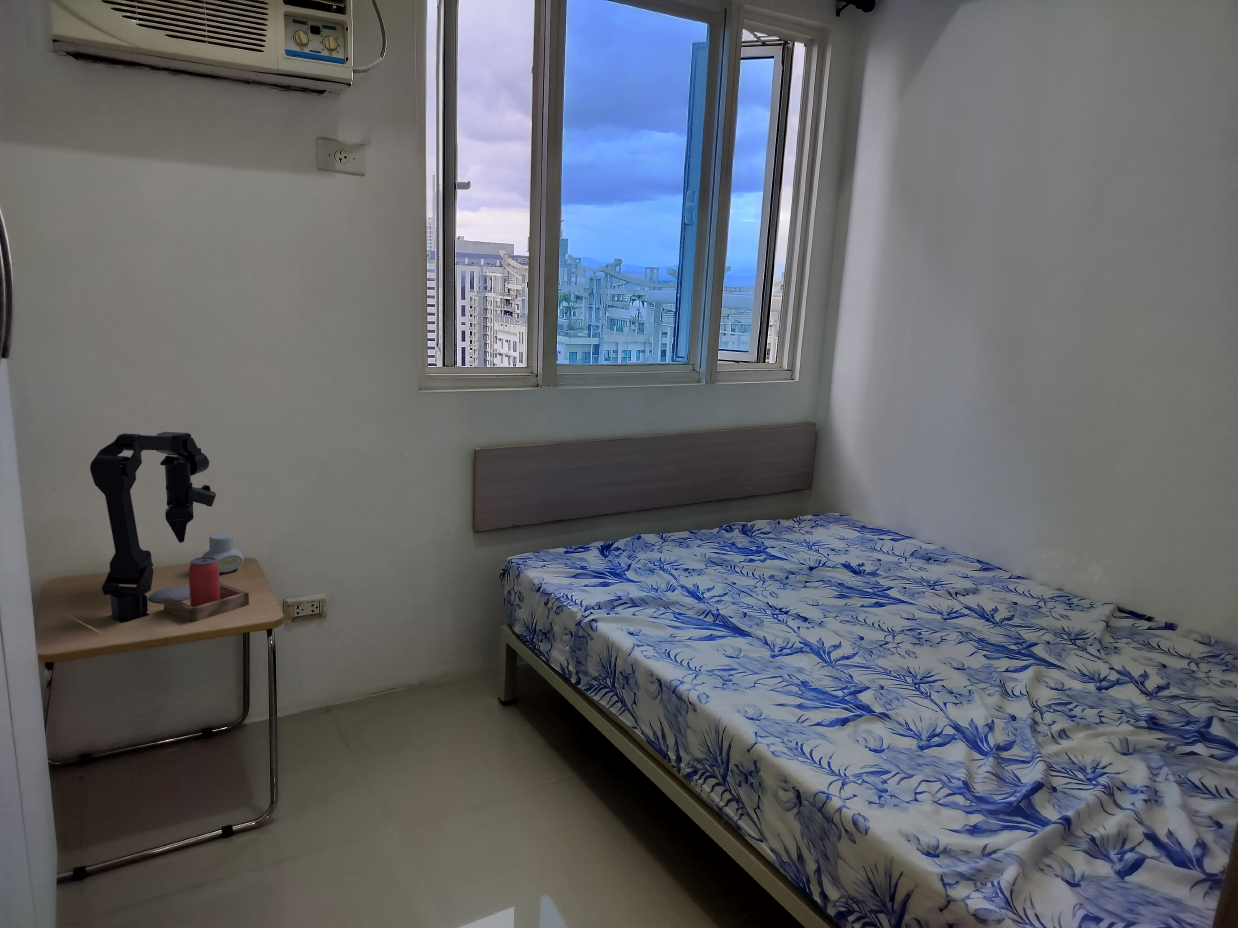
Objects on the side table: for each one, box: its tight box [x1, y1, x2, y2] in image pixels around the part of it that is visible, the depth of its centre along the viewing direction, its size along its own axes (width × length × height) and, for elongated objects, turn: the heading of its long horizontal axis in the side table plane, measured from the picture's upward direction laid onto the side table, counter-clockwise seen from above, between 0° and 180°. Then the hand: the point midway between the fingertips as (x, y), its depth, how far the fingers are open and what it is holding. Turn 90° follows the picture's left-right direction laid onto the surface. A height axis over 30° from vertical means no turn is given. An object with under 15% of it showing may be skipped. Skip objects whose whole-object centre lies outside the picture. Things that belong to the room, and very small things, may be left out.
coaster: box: [149, 587, 190, 604], centre depth 200 cm, size 10×10×1 cm
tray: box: [163, 582, 250, 623], centre depth 194 cm, size 14×12×3 cm
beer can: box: [188, 556, 221, 607], centre depth 194 cm, size 7×7×12 cm
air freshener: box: [201, 532, 245, 574], centre depth 220 cm, size 11×8×10 cm
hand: (181, 537), depth 208 cm, fingers open, 9 cm apart
